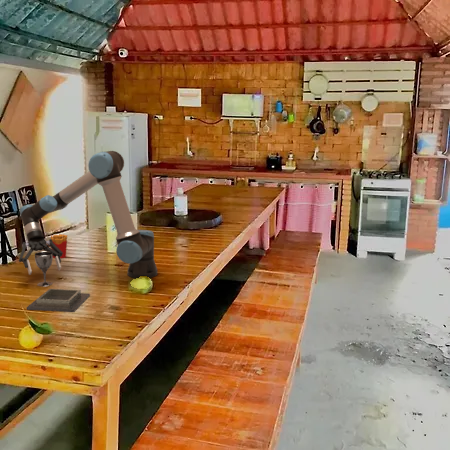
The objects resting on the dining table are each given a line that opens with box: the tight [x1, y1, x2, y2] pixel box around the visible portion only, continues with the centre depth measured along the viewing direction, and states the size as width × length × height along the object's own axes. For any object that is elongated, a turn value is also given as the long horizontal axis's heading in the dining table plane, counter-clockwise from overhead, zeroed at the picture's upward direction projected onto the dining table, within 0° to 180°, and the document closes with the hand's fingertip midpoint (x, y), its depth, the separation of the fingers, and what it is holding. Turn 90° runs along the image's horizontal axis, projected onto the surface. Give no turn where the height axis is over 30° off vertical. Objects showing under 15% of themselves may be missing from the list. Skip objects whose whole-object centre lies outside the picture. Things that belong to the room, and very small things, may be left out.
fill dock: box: [26, 288, 91, 313], centre depth 221 cm, size 20×20×4 cm
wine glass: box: [34, 250, 54, 287], centre depth 244 cm, size 8×8×15 cm
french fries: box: [50, 233, 68, 259], centre depth 290 cm, size 9×4×13 cm, turn 99°
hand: (45, 271), depth 242 cm, fingers open, 13 cm apart
